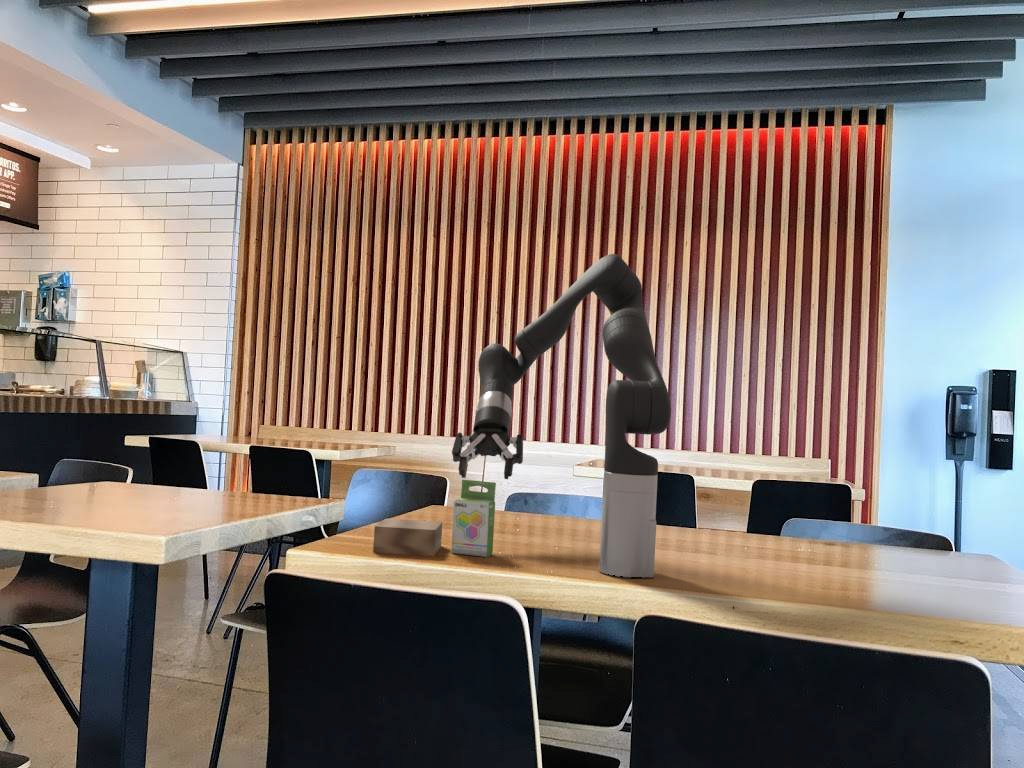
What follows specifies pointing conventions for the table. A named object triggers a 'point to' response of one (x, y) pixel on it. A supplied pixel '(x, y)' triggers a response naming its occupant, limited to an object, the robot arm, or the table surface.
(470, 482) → the ink box
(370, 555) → the table surface
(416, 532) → the walnut block
